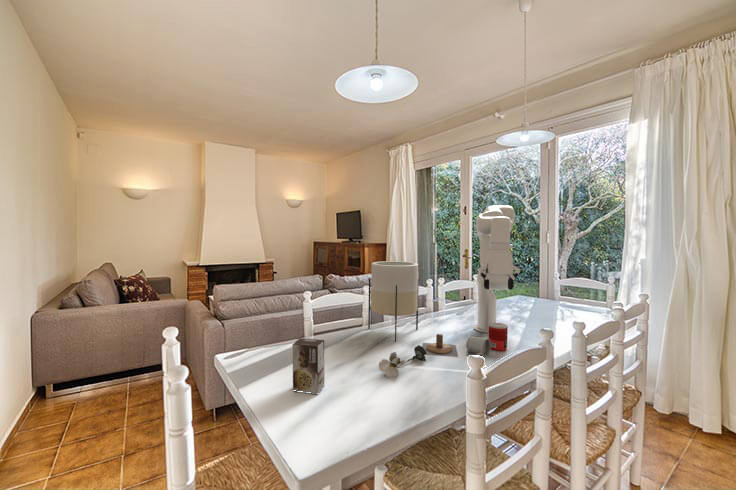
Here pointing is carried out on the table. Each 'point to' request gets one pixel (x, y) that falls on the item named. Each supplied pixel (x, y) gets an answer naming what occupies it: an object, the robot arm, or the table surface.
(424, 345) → the mat
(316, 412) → the table surface
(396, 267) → the planter
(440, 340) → the lid
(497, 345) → the canned food
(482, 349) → the ceramic mug
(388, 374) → the artificial flower
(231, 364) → the table surface
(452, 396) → the table surface
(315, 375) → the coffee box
